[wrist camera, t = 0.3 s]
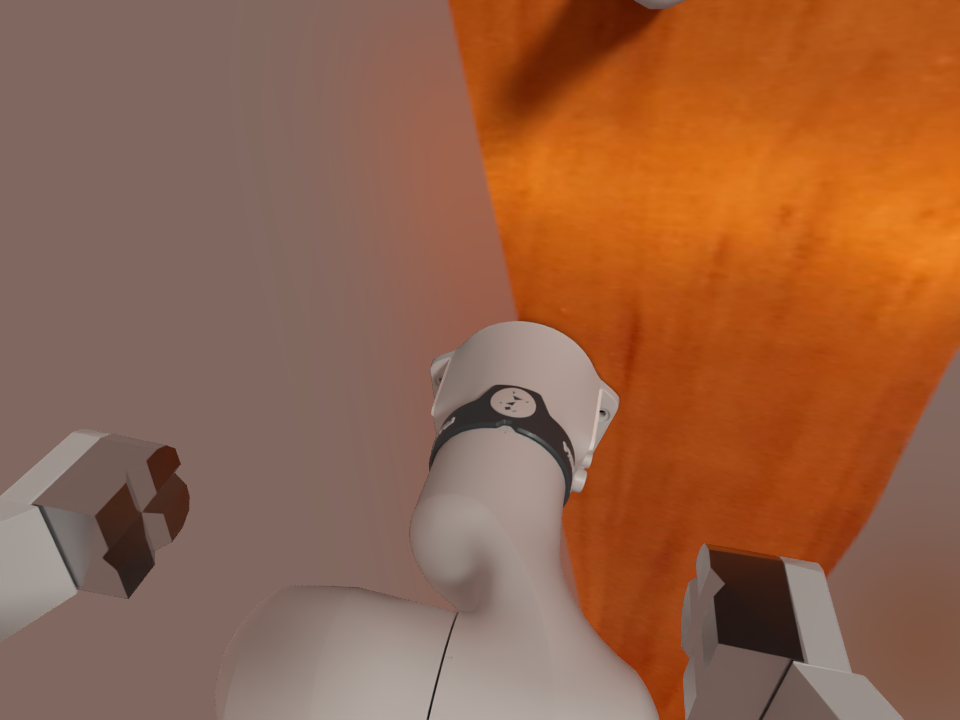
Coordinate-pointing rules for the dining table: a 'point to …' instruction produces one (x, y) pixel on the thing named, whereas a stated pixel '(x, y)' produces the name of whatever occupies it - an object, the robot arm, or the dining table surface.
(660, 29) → the dining table surface
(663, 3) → the salt shaker
